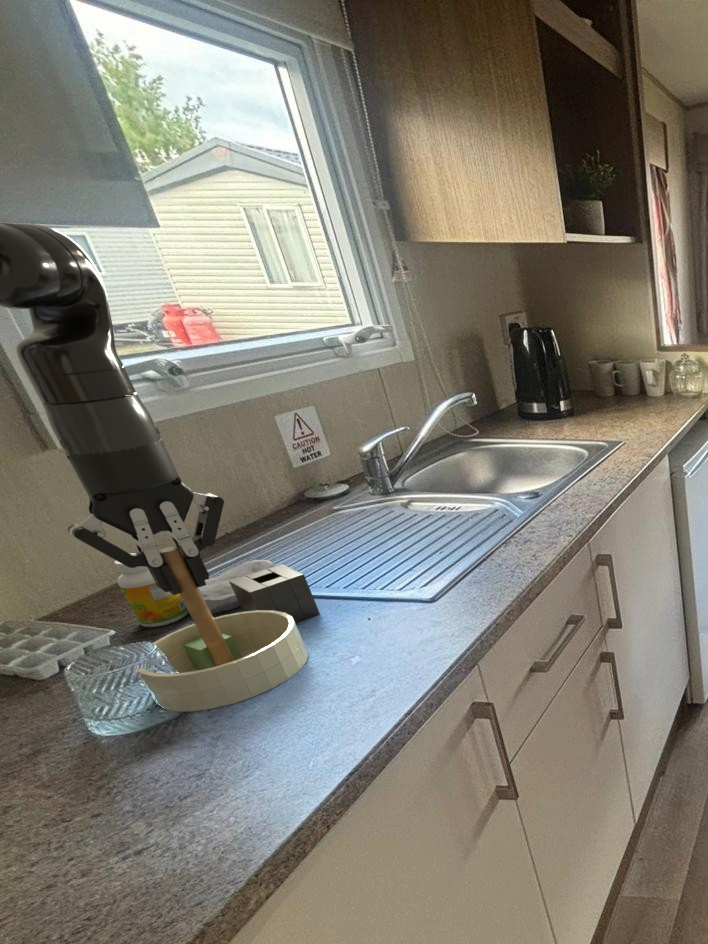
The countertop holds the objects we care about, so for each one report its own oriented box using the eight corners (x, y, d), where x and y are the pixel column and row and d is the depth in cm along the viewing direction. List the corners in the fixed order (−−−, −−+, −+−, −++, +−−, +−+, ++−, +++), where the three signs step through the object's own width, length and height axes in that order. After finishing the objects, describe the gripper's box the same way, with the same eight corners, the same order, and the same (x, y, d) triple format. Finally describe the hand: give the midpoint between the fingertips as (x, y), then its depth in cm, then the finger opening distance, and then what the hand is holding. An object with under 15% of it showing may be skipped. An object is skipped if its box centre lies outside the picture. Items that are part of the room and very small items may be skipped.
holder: (270, 637, 90) (249, 592, 87) (249, 625, 94) (228, 581, 90) (321, 617, 95) (304, 574, 92) (300, 606, 99) (282, 563, 95)
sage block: (212, 674, 81) (199, 650, 80) (195, 668, 83) (182, 644, 81) (243, 660, 84) (231, 636, 83) (226, 654, 86) (214, 630, 84)
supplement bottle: (131, 625, 94) (96, 563, 89) (173, 607, 98) (141, 548, 94) (157, 630, 92) (123, 568, 88) (198, 612, 97) (167, 552, 92)
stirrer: (220, 669, 81) (160, 553, 73) (214, 665, 82) (155, 550, 74) (237, 663, 82) (180, 548, 75) (231, 658, 83) (174, 545, 76)
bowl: (186, 732, 73) (162, 691, 70) (137, 689, 80) (114, 651, 77) (332, 666, 84) (317, 629, 81) (277, 634, 91) (262, 600, 88)
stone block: (306, 599, 104) (271, 574, 108) (297, 574, 101) (261, 550, 105) (219, 635, 95) (184, 607, 99) (206, 608, 93) (171, 580, 96)
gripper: (180, 424, 76) (242, 561, 84) (10, 452, 65) (99, 604, 74) (206, 432, 72) (268, 574, 80) (30, 462, 62) (122, 622, 70)
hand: (187, 588), depth 77 cm, fingers closed on stirrer, 2 cm apart
